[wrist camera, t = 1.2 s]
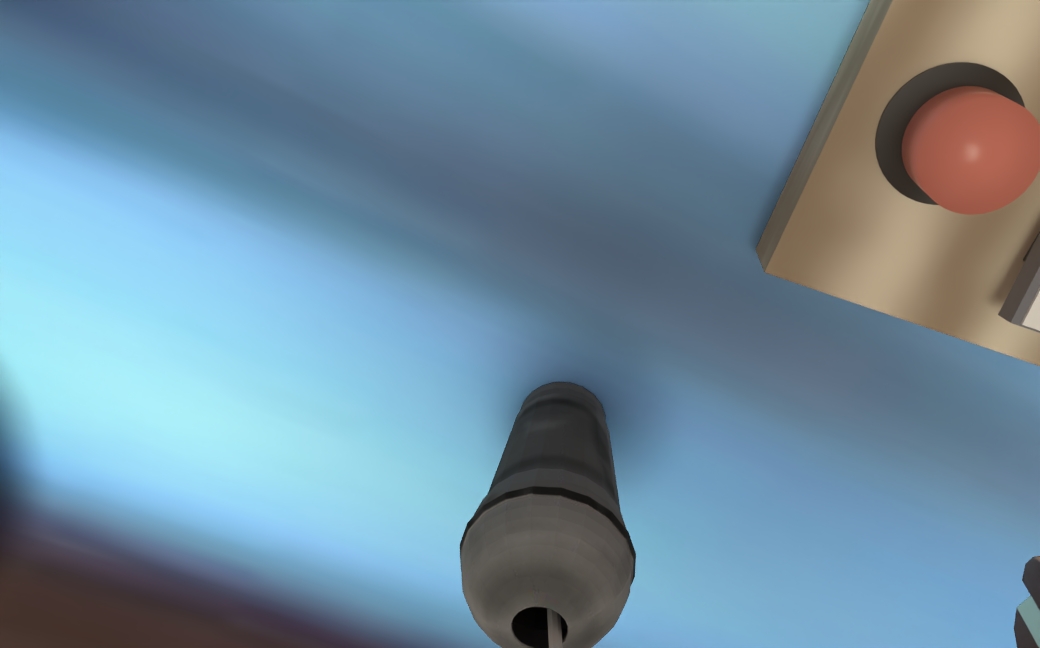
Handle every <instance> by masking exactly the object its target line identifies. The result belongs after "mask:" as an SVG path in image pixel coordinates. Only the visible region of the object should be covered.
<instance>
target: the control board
mask: <svg viewBox="0 0 1040 648" xmlns="http://www.w3.org/2000/svg"><path fill="white" fill-rule="evenodd" d="M963 86H977V87H983V88H986V89H989V90H992V91H994V92H996V93H998V94H1000V95H1002V96H1004V97H1006V98H1008V99H1010V100H1012V101H1014V102H1016V103H1018V104H1020V105H1021V106H1023V107H1024V108H1026V109H1027V110H1028V111H1029V112H1030V113H1031V114H1032V115H1033V116H1034V117H1035V118H1036V120H1037V121H1038V123H1039V125H1040V0H870V2H869V5H868V7H867V9H866V11H865V13H864V15H863V18H862V20H861V22H860V24H859V26H858V28H857V31H856V33H855V35H854V37H853V39H852V41H851V44H850V46H849V48H848V50H847V52H846V54H845V57H844V59H843V61H842V63H841V65H840V67H839V70H838V72H837V74H836V76H835V78H834V80H833V83H832V85H831V87H830V89H829V91H828V93H827V96H826V98H825V100H824V102H823V104H822V106H821V109H820V111H819V113H818V115H817V117H816V119H815V122H814V124H813V126H812V128H811V130H810V132H809V135H808V137H807V139H806V141H805V143H804V145H803V148H802V150H801V152H800V154H799V156H798V158H797V161H796V163H795V165H794V167H793V169H792V171H791V174H790V176H789V178H788V180H787V182H786V184H785V187H784V189H783V191H782V193H781V195H780V197H779V200H778V202H777V204H776V206H775V208H774V210H773V213H772V215H771V217H770V219H769V221H768V223H767V226H766V228H765V230H764V232H763V234H762V237H761V239H760V241H759V243H758V245H757V247H756V252H757V254H758V257H759V260H760V262H761V265H762V267H763V270H764V272H765V273H768V274H771V275H774V276H776V277H779V278H782V279H785V280H788V281H791V282H794V283H797V284H800V285H803V286H806V287H809V288H812V289H815V290H818V291H821V292H823V293H826V294H829V295H832V296H835V297H838V298H841V299H844V300H847V301H850V302H853V303H856V304H859V305H862V306H865V307H868V308H871V309H873V310H876V311H879V312H882V313H885V314H888V315H891V316H894V317H897V318H900V319H903V320H906V321H909V322H912V323H915V324H918V325H921V326H923V327H926V328H929V329H932V330H935V331H938V332H941V333H944V334H947V335H950V336H953V337H956V338H959V339H962V340H965V341H968V342H971V343H973V344H976V345H979V346H982V347H985V348H988V349H991V350H994V351H997V352H1000V353H1003V354H1006V355H1009V356H1012V357H1015V358H1018V359H1021V360H1023V361H1026V362H1029V363H1032V364H1035V365H1038V366H1040V333H1039V332H1036V331H1033V330H1030V329H1027V328H1024V327H1021V326H1018V325H1015V324H1012V323H1010V322H1008V321H1007V320H1005V319H1004V318H1002V317H1000V316H999V315H998V313H999V311H1000V310H1001V308H1002V306H1003V304H1004V302H1005V300H1006V298H1007V296H1008V294H1009V292H1010V290H1011V288H1012V286H1013V284H1014V282H1015V280H1016V278H1017V276H1018V274H1019V272H1020V270H1021V268H1022V266H1023V264H1024V262H1025V261H1026V259H1027V257H1028V255H1029V253H1030V251H1031V249H1032V247H1033V245H1034V243H1035V241H1036V239H1037V237H1038V235H1039V233H1040V170H1039V172H1038V174H1037V176H1036V178H1035V179H1034V181H1033V182H1032V184H1031V185H1030V186H1029V187H1028V188H1027V190H1026V191H1025V192H1024V193H1023V194H1021V195H1020V196H1019V197H1018V198H1017V199H1015V200H1014V201H1013V202H1011V203H1009V204H1008V205H1006V206H1004V207H1002V208H1000V209H998V210H995V211H992V212H988V213H983V214H975V215H966V214H959V213H955V212H952V211H949V210H947V209H945V208H943V207H941V206H940V205H938V204H937V203H936V202H935V201H933V200H932V199H931V198H930V197H929V196H928V195H927V194H926V193H925V192H924V191H923V190H922V189H921V188H920V187H919V186H918V185H917V184H916V183H915V182H914V181H913V180H912V179H911V178H910V176H909V175H908V173H907V171H906V169H905V167H904V163H903V160H902V141H903V136H904V133H905V130H906V128H907V126H908V124H909V122H910V120H911V118H912V117H913V116H914V114H915V113H916V112H917V111H918V109H919V108H920V107H921V106H922V105H923V104H925V103H926V102H927V101H928V100H930V99H931V98H933V97H934V96H936V95H938V94H940V93H942V92H944V91H946V90H949V89H953V88H957V87H963Z"/></svg>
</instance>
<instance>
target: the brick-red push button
mask: <svg viewBox="0 0 1040 648" xmlns="http://www.w3.org/2000/svg"><path fill="white" fill-rule="evenodd" d="M902 160H903V163H904V167H905V169H906V171H907V173H908V175H909V176H910V178H911V179H912V180H913V181H914V182H915V183H916V184H917V185H918V186H919V187H920V188H921V189H922V190H923V191H924V192H925V193H926V194H927V195H928V196H929V197H930V198H931V199H932V200H933V201H935V202H936V203H937V204H938V205H940V206H941V207H943V208H945V209H947V210H949V211H952V212H955V213H959V214H966V215H975V214H983V213H988V212H992V211H995V210H998V209H1000V208H1002V207H1004V206H1006V205H1008V204H1009V203H1011V202H1013V201H1014V200H1015V199H1017V198H1018V197H1019V196H1020V195H1021V194H1023V193H1024V192H1025V191H1026V190H1027V188H1028V187H1029V186H1030V185H1031V184H1032V182H1033V181H1034V179H1035V178H1036V176H1037V174H1038V172H1039V170H1040V125H1039V123H1038V121H1037V120H1036V118H1035V117H1034V116H1033V115H1032V114H1031V113H1030V112H1029V111H1028V110H1027V109H1026V108H1024V107H1023V106H1021V105H1020V104H1018V103H1016V102H1014V101H1012V100H1010V99H1008V98H1006V97H1004V96H1002V95H1000V94H998V93H996V92H994V91H992V90H989V89H986V88H983V87H977V86H963V87H957V88H953V89H949V90H946V91H944V92H942V93H940V94H938V95H936V96H934V97H933V98H931V99H930V100H928V101H927V102H926V103H925V104H923V105H922V106H921V107H920V108H919V109H918V111H917V112H916V113H915V114H914V116H913V117H912V118H911V120H910V122H909V124H908V126H907V128H906V130H905V133H904V136H903V141H902Z"/></svg>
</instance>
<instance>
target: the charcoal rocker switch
mask: <svg viewBox="0 0 1040 648" xmlns="http://www.w3.org/2000/svg"><path fill="white" fill-rule="evenodd" d="M998 315H999V316H1000V317H1002V318H1004V319H1005V320H1007V321H1008V322H1010V323H1012V324H1015V325H1018V326H1021V327H1024V328H1027V329H1030V330H1033V331H1036V332H1039V333H1040V233H1039V235H1038V237H1037V239H1036V241H1035V243H1034V245H1033V247H1032V249H1031V251H1030V253H1029V255H1028V257H1027V259H1026V261H1025V262H1024V264H1023V266H1022V268H1021V270H1020V272H1019V274H1018V276H1017V278H1016V280H1015V282H1014V284H1013V286H1012V288H1011V290H1010V292H1009V294H1008V296H1007V298H1006V300H1005V302H1004V304H1003V306H1002V308H1001V310H1000V311H999V313H998Z"/></svg>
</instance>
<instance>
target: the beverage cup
mask: <svg viewBox="0 0 1040 648" xmlns="http://www.w3.org/2000/svg"><path fill="white" fill-rule="evenodd" d="M460 559H461V572H462V587H463V593H464V596H465V599H466V602H467V604H468V606H469V608H470V611H471V613H472V615H473V618H474V620H475V621H476V623H477V624H478V626H479V627H480V628H481V629H482V630H483V631H484V632H485V633H486V634H487V636H488V637H489V638H490V639H491V640H492V641H493V642H495V643H496V644H497V645H499V646H500V647H502V648H592V647H593V646H594V645H595V644H596V643H597V642H599V641H600V640H601V639H602V638H603V637H604V636H605V635H606V634H607V633H608V632H609V631H610V630H611V629H612V628H613V627H614V625H615V624H616V622H617V620H618V618H619V616H620V614H621V612H622V610H623V608H624V606H625V604H626V602H627V599H628V596H629V593H630V586H631V584H632V582H633V579H634V577H635V559H636V553H635V550H634V547H633V544H632V542H631V539H630V536H629V533H628V531H627V530H626V527H625V524H624V521H623V518H622V515H621V512H620V505H619V498H618V491H617V484H616V477H615V470H614V463H613V456H612V449H611V442H610V435H609V430H608V427H607V424H606V421H605V413H604V410H603V407H602V404H601V403H600V402H599V401H598V399H597V398H596V397H595V395H594V394H592V393H591V392H589V391H588V390H587V389H585V388H584V387H582V386H579V385H575V384H572V383H566V382H554V383H550V384H546V385H543V386H541V387H539V388H538V389H536V390H534V391H533V392H531V394H530V395H529V396H528V397H527V398H526V400H525V401H524V403H523V405H522V408H521V411H520V412H519V414H518V415H517V417H516V420H515V423H514V425H513V428H512V431H511V433H510V436H509V439H508V441H507V444H506V447H505V450H504V452H503V455H502V458H501V460H500V463H499V466H498V468H497V471H496V474H495V476H494V479H493V482H492V484H491V487H490V490H489V492H488V495H487V496H486V497H485V498H484V499H483V501H482V502H481V504H480V506H479V507H478V509H477V511H476V512H475V514H474V516H473V517H472V519H471V520H470V521H469V522H468V523H467V526H466V529H465V532H464V534H463V537H462V540H461V543H460Z"/></svg>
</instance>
